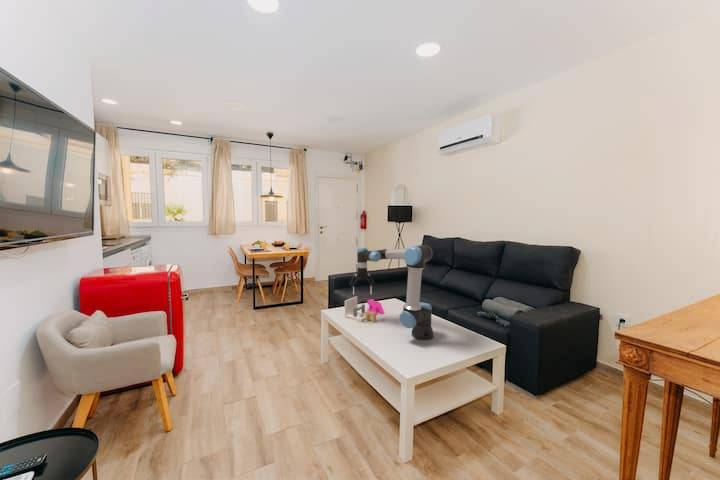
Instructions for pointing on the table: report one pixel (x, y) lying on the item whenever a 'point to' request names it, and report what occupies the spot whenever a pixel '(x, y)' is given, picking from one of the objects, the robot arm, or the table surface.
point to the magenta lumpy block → (375, 307)
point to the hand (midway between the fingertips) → (362, 294)
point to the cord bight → (368, 314)
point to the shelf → (354, 310)
